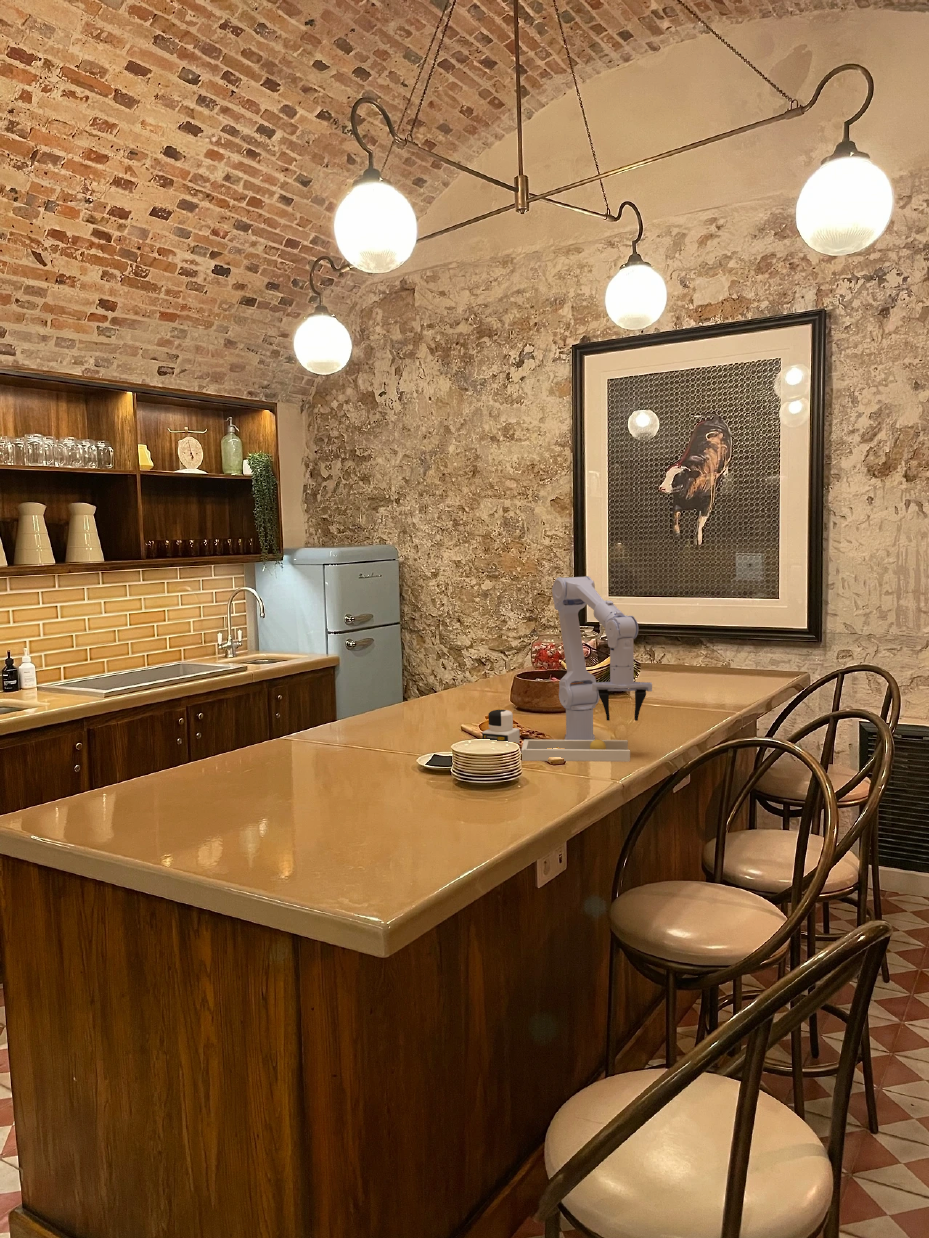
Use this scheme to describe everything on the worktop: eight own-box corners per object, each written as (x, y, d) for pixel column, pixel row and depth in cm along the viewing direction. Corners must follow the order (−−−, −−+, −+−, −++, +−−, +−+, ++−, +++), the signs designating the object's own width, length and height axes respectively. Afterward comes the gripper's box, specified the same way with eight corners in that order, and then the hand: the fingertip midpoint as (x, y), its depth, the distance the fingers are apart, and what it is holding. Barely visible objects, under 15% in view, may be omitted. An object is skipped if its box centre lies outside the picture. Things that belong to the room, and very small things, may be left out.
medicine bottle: (482, 759, 236) (481, 712, 235) (494, 753, 242) (493, 707, 241) (508, 762, 233) (507, 714, 232) (520, 756, 239) (519, 709, 238)
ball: (589, 753, 239) (589, 737, 238) (605, 753, 238) (605, 737, 238) (589, 757, 235) (589, 741, 234) (606, 757, 234) (606, 741, 234)
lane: (524, 750, 245) (524, 739, 244) (627, 751, 241) (627, 740, 241) (521, 762, 233) (521, 750, 233) (630, 763, 230) (630, 750, 229)
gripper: (592, 667, 231) (592, 722, 232) (653, 667, 229) (653, 723, 230) (591, 663, 238) (592, 717, 239) (650, 663, 236) (650, 717, 237)
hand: (622, 719), depth 235 cm, fingers open, 6 cm apart
